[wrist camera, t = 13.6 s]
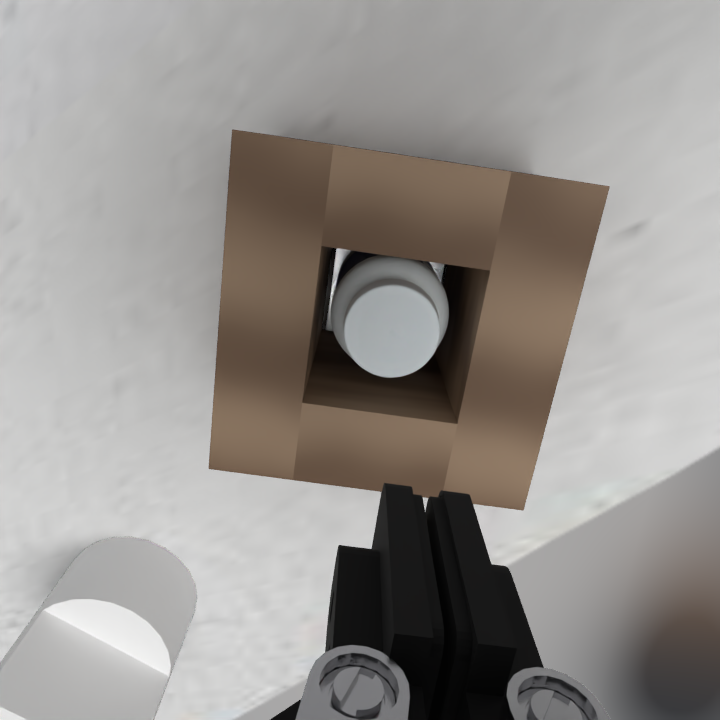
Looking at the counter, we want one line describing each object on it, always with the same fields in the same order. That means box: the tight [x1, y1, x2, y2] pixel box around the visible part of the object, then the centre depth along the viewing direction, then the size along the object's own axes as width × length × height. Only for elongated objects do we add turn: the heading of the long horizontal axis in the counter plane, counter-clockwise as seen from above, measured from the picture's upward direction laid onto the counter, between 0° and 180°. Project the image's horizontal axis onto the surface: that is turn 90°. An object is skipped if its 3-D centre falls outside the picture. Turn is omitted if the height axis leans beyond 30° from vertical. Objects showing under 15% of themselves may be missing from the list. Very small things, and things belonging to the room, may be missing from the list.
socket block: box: [209, 130, 610, 510], centre depth 30 cm, size 14×14×11 cm
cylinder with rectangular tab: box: [0, 537, 197, 720], centre depth 37 cm, size 9×9×12 cm
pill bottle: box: [331, 251, 449, 378], centre depth 29 cm, size 5×5×10 cm
